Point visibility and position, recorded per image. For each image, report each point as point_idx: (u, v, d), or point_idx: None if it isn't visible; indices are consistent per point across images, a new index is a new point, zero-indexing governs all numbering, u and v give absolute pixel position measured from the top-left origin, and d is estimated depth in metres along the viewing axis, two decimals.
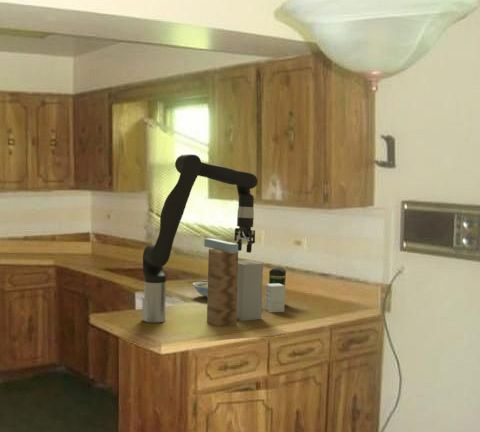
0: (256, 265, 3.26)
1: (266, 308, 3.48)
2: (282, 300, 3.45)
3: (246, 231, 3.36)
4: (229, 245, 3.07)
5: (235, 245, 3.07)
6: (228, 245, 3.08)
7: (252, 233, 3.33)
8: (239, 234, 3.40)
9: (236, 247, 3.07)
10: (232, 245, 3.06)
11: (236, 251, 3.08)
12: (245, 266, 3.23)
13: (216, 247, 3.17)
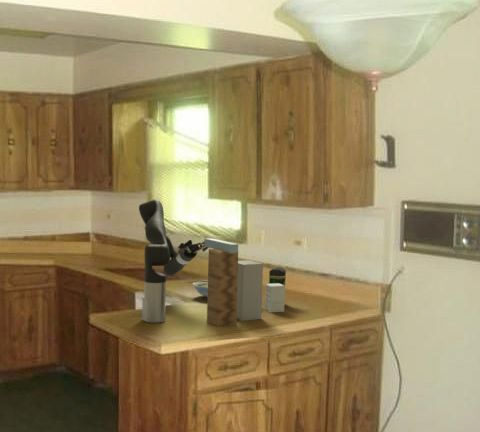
0: (256, 265, 3.26)
1: (266, 308, 3.48)
2: (282, 300, 3.45)
3: None
4: (229, 245, 3.07)
5: (235, 245, 3.07)
6: (228, 245, 3.08)
7: None
8: None
9: (236, 247, 3.07)
10: (232, 245, 3.06)
11: (236, 251, 3.08)
12: (245, 266, 3.23)
13: (216, 247, 3.17)
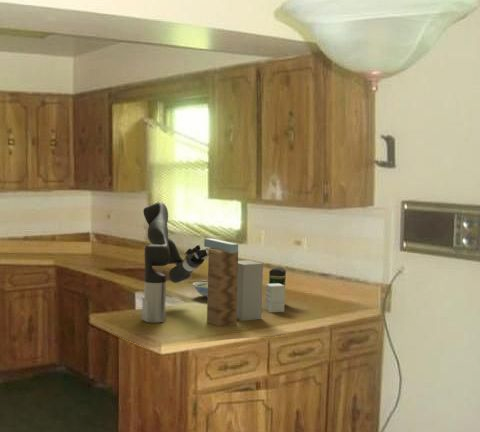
0: (256, 265, 3.26)
1: (266, 308, 3.48)
2: (282, 300, 3.45)
3: None
4: (229, 245, 3.07)
5: (235, 245, 3.07)
6: (228, 245, 3.08)
7: None
8: None
9: (236, 247, 3.07)
10: (232, 245, 3.06)
11: (236, 251, 3.08)
12: (245, 266, 3.23)
13: (216, 247, 3.17)
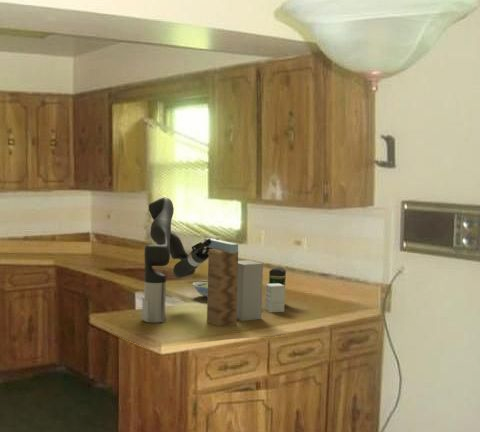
0: (256, 265, 3.26)
1: (266, 308, 3.48)
2: (282, 300, 3.45)
3: None
4: (229, 245, 3.07)
5: (235, 245, 3.07)
6: (228, 245, 3.08)
7: None
8: None
9: (236, 247, 3.07)
10: (232, 245, 3.06)
11: (236, 251, 3.08)
12: (245, 266, 3.23)
13: (216, 247, 3.17)
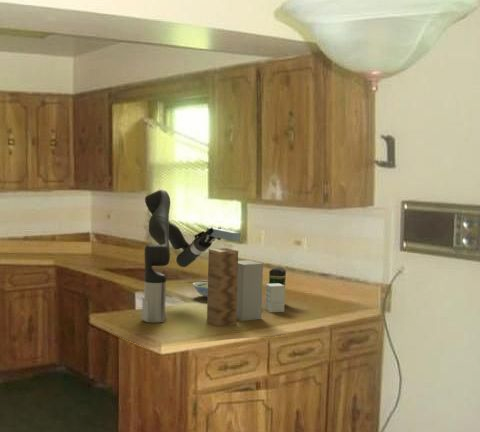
0: (256, 265, 3.26)
1: (266, 308, 3.48)
2: (282, 300, 3.45)
3: None
4: (231, 234, 3.18)
5: (237, 234, 3.18)
6: (230, 234, 3.18)
7: None
8: None
9: (238, 235, 3.18)
10: (234, 234, 3.17)
11: (238, 239, 3.18)
12: (245, 266, 3.23)
13: (218, 236, 3.27)
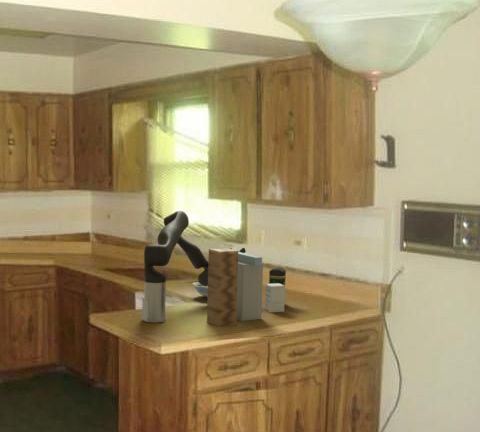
0: None
1: (266, 308, 3.48)
2: (282, 300, 3.45)
3: None
4: (253, 258, 3.21)
5: (259, 258, 3.21)
6: (252, 258, 3.22)
7: None
8: None
9: (260, 260, 3.21)
10: (256, 258, 3.20)
11: (260, 264, 3.21)
12: (245, 266, 3.23)
13: (240, 260, 3.31)
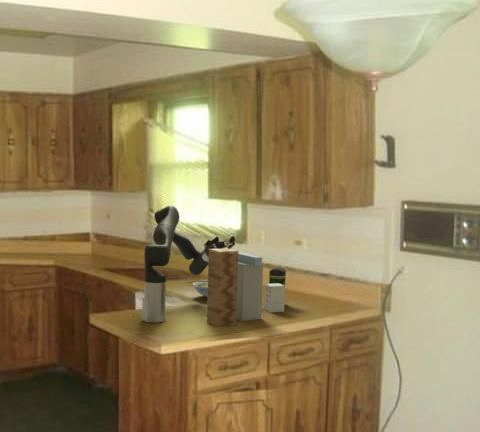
0: None
1: (266, 308, 3.48)
2: (282, 300, 3.45)
3: None
4: (253, 258, 3.21)
5: (259, 258, 3.21)
6: (252, 258, 3.22)
7: None
8: None
9: (260, 260, 3.21)
10: (256, 258, 3.20)
11: (260, 264, 3.21)
12: (245, 266, 3.23)
13: (240, 260, 3.31)
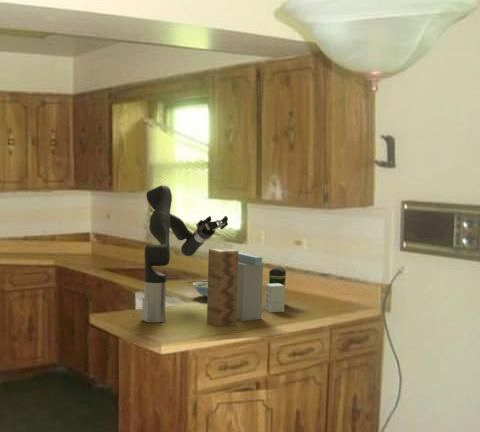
0: None
1: (266, 308, 3.48)
2: (282, 300, 3.45)
3: None
4: (253, 258, 3.21)
5: (259, 258, 3.21)
6: (252, 258, 3.22)
7: None
8: None
9: (260, 260, 3.21)
10: (256, 258, 3.20)
11: (260, 264, 3.21)
12: (245, 266, 3.23)
13: (240, 260, 3.31)
